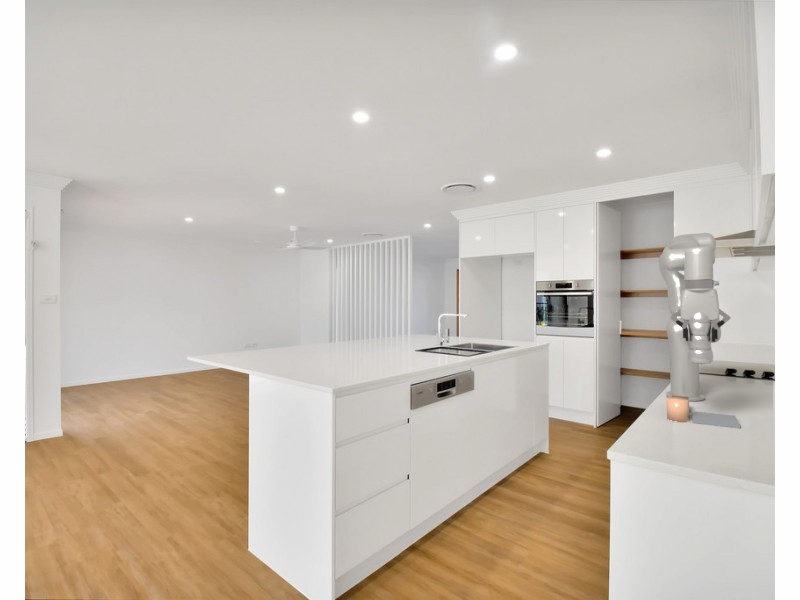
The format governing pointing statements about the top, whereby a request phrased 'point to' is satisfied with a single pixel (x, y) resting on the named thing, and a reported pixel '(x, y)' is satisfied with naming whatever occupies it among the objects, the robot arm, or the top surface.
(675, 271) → the robot arm
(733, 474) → the top surface
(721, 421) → the slate mat
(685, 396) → the copper block
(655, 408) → the top surface
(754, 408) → the top surface
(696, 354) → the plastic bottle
